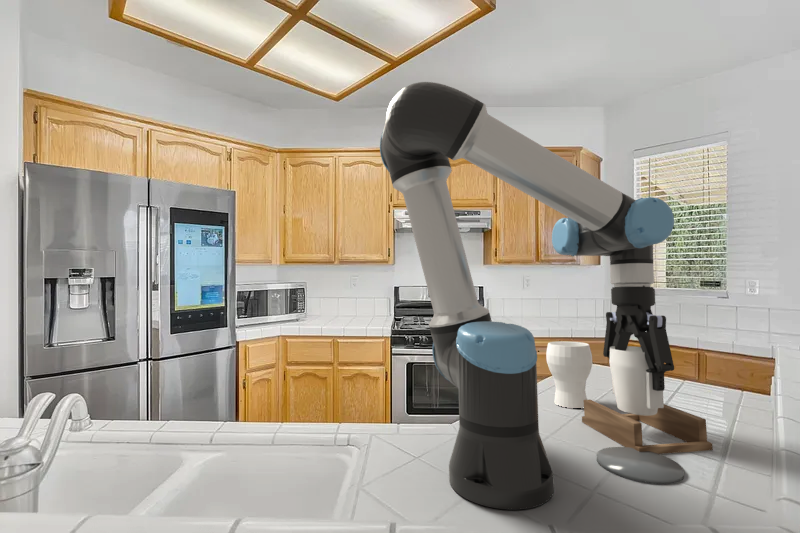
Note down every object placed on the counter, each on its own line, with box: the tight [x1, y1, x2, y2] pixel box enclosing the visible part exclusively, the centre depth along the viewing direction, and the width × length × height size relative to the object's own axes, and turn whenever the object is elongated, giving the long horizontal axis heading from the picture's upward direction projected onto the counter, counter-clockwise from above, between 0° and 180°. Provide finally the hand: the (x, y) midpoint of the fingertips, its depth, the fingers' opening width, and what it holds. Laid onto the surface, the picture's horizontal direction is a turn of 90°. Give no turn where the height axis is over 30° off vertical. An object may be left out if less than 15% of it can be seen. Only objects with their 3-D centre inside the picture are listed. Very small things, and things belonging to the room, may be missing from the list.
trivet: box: [596, 446, 685, 485], centre depth 62 cm, size 12×12×1 cm
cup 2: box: [608, 345, 658, 416], centre depth 76 cm, size 9×9×12 cm
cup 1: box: [545, 340, 593, 409], centre depth 96 cm, size 11×11×15 cm
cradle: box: [581, 399, 714, 455], centre depth 75 cm, size 14×17×5 cm
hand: (636, 400), depth 75 cm, fingers closed on cup 2, 9 cm apart
